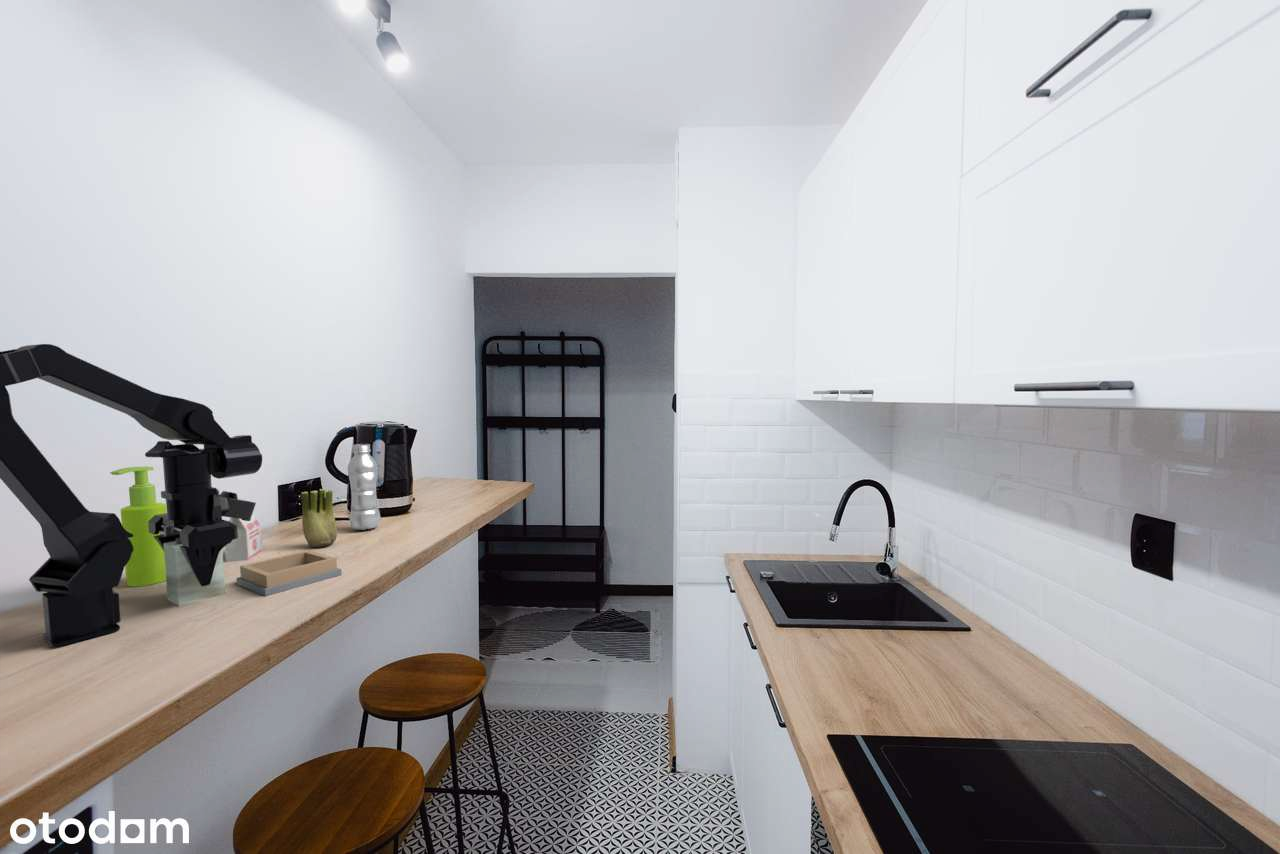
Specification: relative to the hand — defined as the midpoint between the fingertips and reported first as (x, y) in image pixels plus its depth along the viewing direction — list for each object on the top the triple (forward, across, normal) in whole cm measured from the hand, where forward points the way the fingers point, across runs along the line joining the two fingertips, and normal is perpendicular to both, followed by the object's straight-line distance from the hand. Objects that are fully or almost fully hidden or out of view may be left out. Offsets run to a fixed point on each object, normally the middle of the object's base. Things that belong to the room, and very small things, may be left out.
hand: (195, 581), depth 90 cm
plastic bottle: (+3, +20, -39) cm, 44 cm away
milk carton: (+3, +20, -14) cm, 25 cm away
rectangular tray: (+2, -4, -12) cm, 13 cm away
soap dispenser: (+3, +17, +2) cm, 17 cm away
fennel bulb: (+3, +14, -26) cm, 30 cm away
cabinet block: (+3, 0, 0) cm, 3 cm away
